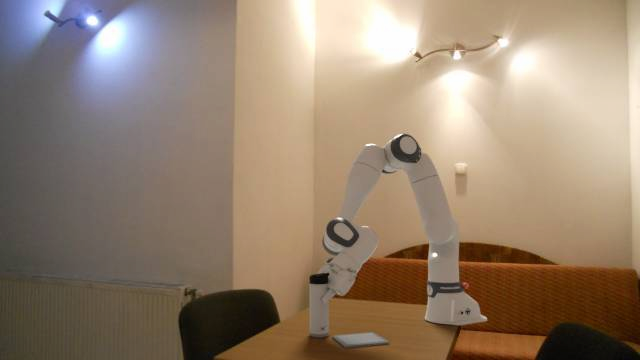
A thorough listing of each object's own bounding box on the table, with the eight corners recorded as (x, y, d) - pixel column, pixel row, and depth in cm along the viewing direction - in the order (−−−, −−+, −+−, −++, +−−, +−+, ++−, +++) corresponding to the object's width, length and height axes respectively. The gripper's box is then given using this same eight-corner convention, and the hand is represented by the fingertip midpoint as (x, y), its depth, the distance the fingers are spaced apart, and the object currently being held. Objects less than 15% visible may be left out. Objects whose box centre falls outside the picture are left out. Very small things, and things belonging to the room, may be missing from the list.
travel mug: (327, 338, 144) (327, 274, 146) (307, 337, 146) (307, 273, 147) (331, 333, 150) (331, 271, 152) (311, 332, 152) (311, 271, 153)
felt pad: (372, 334, 149) (372, 331, 149) (389, 343, 138) (389, 341, 138) (332, 337, 145) (332, 335, 145) (345, 348, 134) (345, 345, 134)
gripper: (365, 277, 145) (337, 312, 140) (337, 270, 163) (311, 300, 159) (352, 264, 143) (324, 298, 138) (325, 258, 162) (299, 288, 157)
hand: (317, 299), depth 149 cm, fingers closed on travel mug, 6 cm apart
